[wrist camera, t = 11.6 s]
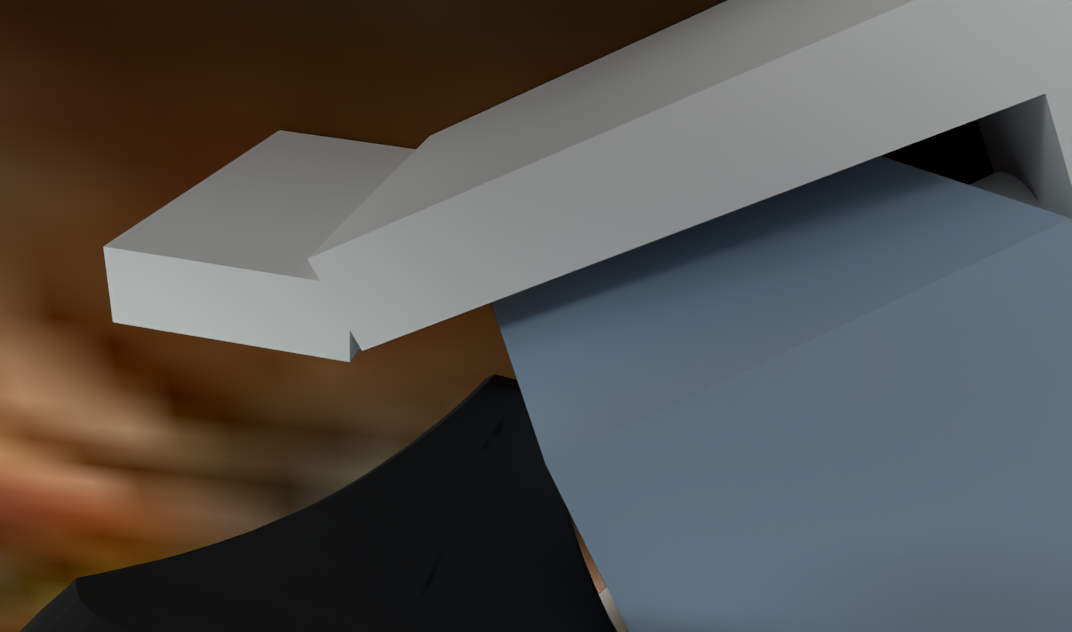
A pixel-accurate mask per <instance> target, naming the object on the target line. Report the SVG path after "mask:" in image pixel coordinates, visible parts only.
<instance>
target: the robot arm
mask: <svg viewBox="0 0 1072 632" xmlns="http://www.w3.org/2000/svg"><path fill="white" fill-rule="evenodd" d="M20 632H617V630H616V628H615V626H614V625H613V623H612V621H611V619H610V618H609V616H608V613H607V611H606V609H605V607H604V605H603V603H602V601H601V598H600V596H599V594H598V592H597V590H596V588H595V585H594V583H593V581H592V578H591V576H590V573H589V571H588V568H587V566H586V563H585V561H584V558H583V555H582V552H581V550H580V547H579V544H578V541H577V538H576V535H575V532H574V528H573V525H572V521H571V518H570V514H569V511H568V508H567V506H566V504H565V502H564V500H563V498H562V496H561V494H560V492H559V490H558V488H557V486H556V484H555V482H554V480H553V478H552V476H551V474H550V472H549V470H548V468H547V466H546V464H545V461H544V458H543V455H542V452H541V449H540V446H539V443H538V440H537V437H536V434H535V431H534V428H533V425H532V422H531V419H530V416H529V413H528V410H527V407H526V405H525V402H524V399H523V396H522V393H521V390H520V387H519V384H518V381H517V380H515V379H511V378H507V377H503V376H499V375H495V374H494V375H492V376H490V377H488V378H486V379H485V380H484V381H483V382H482V383H481V384H480V385H479V386H478V387H477V388H476V389H475V390H474V391H473V392H472V393H471V394H470V395H469V396H468V397H467V398H466V399H464V400H463V401H462V402H461V403H460V404H459V405H458V406H457V407H455V408H454V409H453V410H452V411H451V412H450V413H449V414H447V415H446V416H445V417H444V418H443V419H441V420H440V421H439V422H438V423H436V424H435V425H434V426H433V427H431V428H430V429H429V430H428V431H426V432H425V433H424V434H422V435H421V436H420V437H419V438H417V439H416V440H415V441H414V442H412V443H411V444H410V445H408V446H407V447H405V448H404V449H403V450H401V451H400V452H398V453H397V454H395V455H394V456H392V457H391V458H389V459H388V460H386V461H385V462H383V463H382V464H380V465H379V466H377V467H376V468H375V469H373V470H372V471H370V472H369V473H367V474H365V475H364V476H362V477H360V478H359V479H357V480H356V481H354V482H352V483H351V484H349V485H347V486H345V487H344V488H342V489H340V490H338V491H337V492H335V493H333V494H331V495H329V496H327V497H325V498H323V499H322V500H320V501H318V502H316V503H314V504H312V505H310V506H308V507H306V508H304V509H301V510H299V511H297V512H295V513H293V514H291V515H288V516H286V517H283V518H281V519H279V520H276V521H274V522H272V523H269V524H267V525H265V526H262V527H260V528H257V529H255V530H253V531H250V532H247V533H245V534H242V535H239V536H236V537H233V538H230V539H227V540H224V541H222V542H219V543H216V544H213V545H209V546H206V547H203V548H199V549H196V550H193V551H190V552H186V553H183V554H179V555H176V556H172V557H168V558H165V559H161V560H157V561H152V562H148V563H144V564H139V565H135V566H130V567H126V568H122V569H117V570H113V571H108V572H104V573H99V574H95V575H90V576H84V577H79V578H76V579H75V580H74V581H73V582H72V583H71V584H70V585H69V586H68V587H67V588H66V589H65V590H64V591H62V592H61V593H60V594H59V595H58V596H57V597H56V598H54V599H53V600H52V601H51V602H50V603H49V604H48V605H46V606H45V607H44V608H43V609H42V610H41V611H40V612H39V613H38V614H37V615H36V616H35V617H34V618H33V619H32V620H31V621H30V622H29V623H28V624H27V625H26V626H25V627H24V628H23V629H22V630H21V631H20Z"/></svg>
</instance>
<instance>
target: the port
mask: <svg viewBox="0 0 1072 632" xmlns="http://www.w3.org/2000/svg"><path fill="white" fill-rule="evenodd" d="M976 119H977V120H978V124H979V127H980V130H981V133H982V136H983V139H984V143H985V146H986V149H987V152H988V155H989V159H990V162H991V165H992V168H993V171H994V173H996V172H1006V173H1008V174H1011V175H1013V176H1014V177H1016V178H1017V179H1019V180H1020V181H1021V182H1022V183H1023V184H1024V185H1025V186H1026V187H1027V188H1028V189H1029V190H1030V191H1031V192H1032V193H1033V195H1034V196H1035V198H1036V199H1037V201H1038V202H1039V204H1040V206H1041V209H1044V210H1047V211H1050V212H1053V213H1056V214H1059V215H1062V216H1065V217H1068V218H1071V223H1072V0H727V1H725V2H723V3H721V4H719V5H716V6H714V7H712V8H710V9H708V10H705V11H703V12H701V13H699V14H697V15H694V16H692V17H690V18H688V19H686V20H683V21H681V22H679V23H677V24H675V25H672V26H670V27H668V28H666V29H664V30H661V31H659V32H657V33H655V34H653V35H650V36H648V37H646V38H644V39H642V40H639V41H637V42H635V43H633V44H631V45H628V46H626V47H624V48H622V49H620V50H617V51H615V52H613V53H611V54H609V55H606V56H604V57H602V58H600V59H598V60H595V61H593V62H591V63H589V64H587V65H584V66H582V67H580V68H578V69H576V70H573V71H571V72H569V73H567V74H565V75H562V76H560V77H558V78H556V79H554V80H552V81H549V82H547V83H545V84H543V85H541V86H538V87H536V88H534V89H532V90H530V91H527V92H525V93H523V94H521V95H519V96H516V97H514V98H512V99H510V100H508V101H505V102H503V103H501V104H499V105H497V106H494V107H492V108H490V109H488V110H486V111H483V112H481V113H479V114H477V115H475V116H472V117H470V118H468V119H466V120H464V121H461V122H459V123H457V124H455V125H453V126H450V127H448V128H446V129H444V130H442V131H439V132H437V133H435V134H433V135H431V136H429V137H428V138H427V139H426V140H425V141H424V142H423V143H422V144H421V145H420V146H419V147H418V148H417V149H410V148H403V147H396V146H389V145H382V144H374V143H367V142H360V141H353V140H346V139H339V138H331V137H324V136H317V135H310V134H303V133H296V132H289V131H281V130H279V131H278V132H276V133H275V134H273V135H271V136H270V137H268V138H267V139H265V140H264V141H262V142H261V143H259V144H258V145H256V146H255V147H253V148H252V149H250V150H249V151H247V152H246V153H244V154H243V155H241V156H240V157H238V158H237V159H235V160H234V161H232V162H231V163H229V164H228V165H226V166H225V167H223V168H221V169H220V170H218V171H217V172H215V173H214V174H212V175H211V176H209V177H208V178H206V179H205V180H203V181H202V182H200V183H199V184H197V185H196V186H194V187H193V188H191V189H190V190H188V191H187V192H185V193H184V194H182V195H181V196H179V197H178V198H176V199H174V200H173V201H171V202H170V203H168V204H167V205H165V206H164V207H162V208H161V209H159V210H158V211H156V212H155V213H153V214H152V215H150V216H149V217H147V218H146V219H144V220H143V221H141V222H140V223H138V224H137V225H135V226H134V227H132V228H131V229H129V230H127V231H126V232H124V233H123V234H121V235H120V236H118V237H117V238H115V239H114V240H112V241H111V242H109V243H108V244H106V245H105V246H103V249H104V256H105V264H106V272H107V279H108V287H109V295H110V302H111V310H112V318H113V322H115V323H121V324H127V325H133V326H139V327H145V328H151V329H157V330H163V331H168V332H174V333H180V334H186V335H192V336H198V337H204V338H210V339H216V340H222V341H228V342H234V343H240V344H245V345H251V346H257V347H263V348H269V349H275V350H281V351H287V352H293V353H299V354H305V355H311V356H317V357H322V358H328V359H334V360H340V361H346V362H350V361H351V360H352V358H353V357H354V356H355V354H356V353H357V352H358V350H359V349H360V348H361V350H362V351H363V350H366V349H369V348H371V347H374V346H377V345H379V344H382V343H385V342H387V341H390V340H392V339H395V338H398V337H400V336H403V335H406V334H408V333H411V332H414V331H416V330H419V329H422V328H424V327H427V326H430V325H432V324H435V323H438V322H440V321H443V320H446V319H448V318H451V317H454V316H456V315H459V314H461V313H464V312H467V311H469V310H472V309H475V308H477V307H480V306H483V305H485V304H488V303H491V302H493V301H496V300H499V299H501V298H504V297H507V296H509V295H512V294H515V293H517V292H520V291H523V290H525V289H528V288H530V287H533V286H536V285H538V284H541V283H544V282H546V281H549V280H552V279H554V278H557V277H560V276H562V275H565V274H568V273H570V272H573V271H576V270H578V269H581V268H584V267H586V266H589V265H592V264H594V263H597V262H599V261H602V260H605V259H607V258H610V257H613V256H615V255H618V254H621V253H623V252H626V251H629V250H631V249H634V248H637V247H639V246H642V245H645V244H647V243H650V242H653V241H655V240H658V239H661V238H663V237H666V236H668V235H671V234H674V233H676V232H679V231H682V230H684V229H687V228H690V227H692V226H695V225H698V224H700V223H703V222H706V221H708V220H711V219H714V218H716V217H719V216H722V215H724V214H727V213H730V212H732V211H735V210H737V209H740V208H743V207H745V206H748V205H751V204H753V203H756V202H759V201H761V200H764V199H767V198H769V197H772V196H775V195H777V194H780V193H783V192H785V191H788V190H791V189H793V188H796V187H799V186H801V185H804V184H807V183H809V182H812V181H814V180H817V179H820V178H822V177H825V176H828V175H830V174H833V173H836V172H838V171H841V170H844V169H846V168H849V167H852V166H854V165H857V164H860V163H862V162H865V161H868V160H870V159H873V158H876V157H878V156H881V155H883V154H886V153H889V152H891V151H894V150H897V149H899V148H902V147H905V146H907V145H910V144H913V143H915V142H918V141H921V140H923V139H926V138H929V137H931V136H934V135H937V134H939V133H942V132H945V131H947V130H950V129H952V128H955V127H958V126H960V125H963V124H966V123H968V122H971V121H974V120H976ZM599 596H600V598H601V601H602V603H603V605H604V607H605V609H606V611H607V613H608V616H609V618H610V619H611V621H612V623H613V625H614V626H615V628H616V630H617V632H629V631H628V629H627V627H626V625H625V623H624V621H623V619H622V617H621V615H620V613H619V611H618V609H617V607H616V605H615V603H614V601H613V599H612V597H611V595H610V593H609V591H608V589H607V587H606V588H605V589H604V590H603V591H602V592H601V593H600V594H599Z"/></svg>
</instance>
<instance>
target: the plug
mask: <svg viewBox="0 0 1072 632" xmlns="http://www.w3.org/2000/svg"><path fill="white" fill-rule="evenodd" d="M491 304H492V307H493V310H494V313H495V316H496V319H497V322H498V325H499V328H500V330H501V333H502V336H503V339H504V342H505V345H506V348H507V351H508V354H509V357H510V360H511V363H512V366H513V369H514V372H515V375H516V378H517V381H518V384H519V387H520V390H521V393H522V396H523V399H524V402H525V405H526V407H527V410H528V413H529V416H530V419H531V422H532V425H533V428H534V431H535V434H536V437H537V440H538V443H539V446H540V449H541V452H542V455H543V458H544V461H545V464H546V466H547V468H548V470H549V472H550V474H551V476H552V478H553V480H554V482H555V484H556V486H557V488H558V490H559V492H560V494H561V496H562V498H563V500H564V502H565V504H566V506H567V508H568V510H569V512H570V514H571V516H572V518H573V520H574V522H575V524H576V526H577V528H578V530H579V532H580V534H581V536H582V538H583V540H584V542H585V544H586V546H587V548H588V551H589V553H590V555H591V557H592V559H593V561H594V563H595V565H596V567H597V569H598V571H599V573H600V575H601V577H602V579H603V581H604V583H605V585H606V587H607V589H608V591H609V593H610V595H611V597H612V599H613V601H614V603H615V605H616V607H617V609H618V611H619V613H620V615H621V617H622V619H623V621H624V623H625V625H626V627H627V629H628V631H629V632H1072V223H1071V218H1068V217H1065V216H1062V215H1059V214H1056V213H1053V212H1050V211H1047V210H1044V209H1041V206H1040V204H1039V202H1038V201H1037V199H1036V198H1035V196H1034V195H1033V193H1032V192H1031V191H1030V190H1029V189H1028V188H1027V187H1026V186H1025V185H1024V184H1023V183H1022V182H1021V181H1020V180H1019V179H1017V178H1016V177H1014V176H1013V175H1011V174H1008V173H1006V172H996V173H993V174H991V175H989V176H987V177H985V178H983V179H980V180H978V181H976V182H974V183H972V184H970V185H967V184H964V183H961V182H958V181H955V180H952V179H949V178H946V177H943V176H940V175H937V174H934V173H931V172H928V171H925V170H922V169H919V168H916V167H913V166H910V165H907V164H903V163H900V162H897V161H894V160H891V159H888V158H885V157H882V156H878V157H876V158H873V159H870V160H868V161H865V162H862V163H860V164H857V165H854V166H852V167H849V168H846V169H844V170H841V171H838V172H836V173H833V174H830V175H828V176H825V177H822V178H820V179H817V180H814V181H812V182H809V183H807V184H804V185H801V186H799V187H796V188H793V189H791V190H788V191H785V192H783V193H780V194H777V195H775V196H772V197H769V198H767V199H764V200H761V201H759V202H756V203H753V204H751V205H748V206H745V207H743V208H740V209H737V210H735V211H732V212H730V213H727V214H724V215H722V216H719V217H716V218H714V219H711V220H708V221H706V222H703V223H700V224H698V225H695V226H692V227H690V228H687V229H684V230H682V231H679V232H676V233H674V234H671V235H668V236H666V237H663V238H661V239H658V240H655V241H653V242H650V243H647V244H645V245H642V246H639V247H637V248H634V249H631V250H629V251H626V252H623V253H621V254H618V255H615V256H613V257H610V258H607V259H605V260H602V261H599V262H597V263H594V264H592V265H589V266H586V267H584V268H581V269H578V270H576V271H573V272H570V273H568V274H565V275H562V276H560V277H557V278H554V279H552V280H549V281H546V282H544V283H541V284H538V285H536V286H533V287H530V288H528V289H525V290H523V291H520V292H517V293H515V294H512V295H509V296H507V297H504V298H501V299H499V300H496V301H493V302H491Z"/></svg>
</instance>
